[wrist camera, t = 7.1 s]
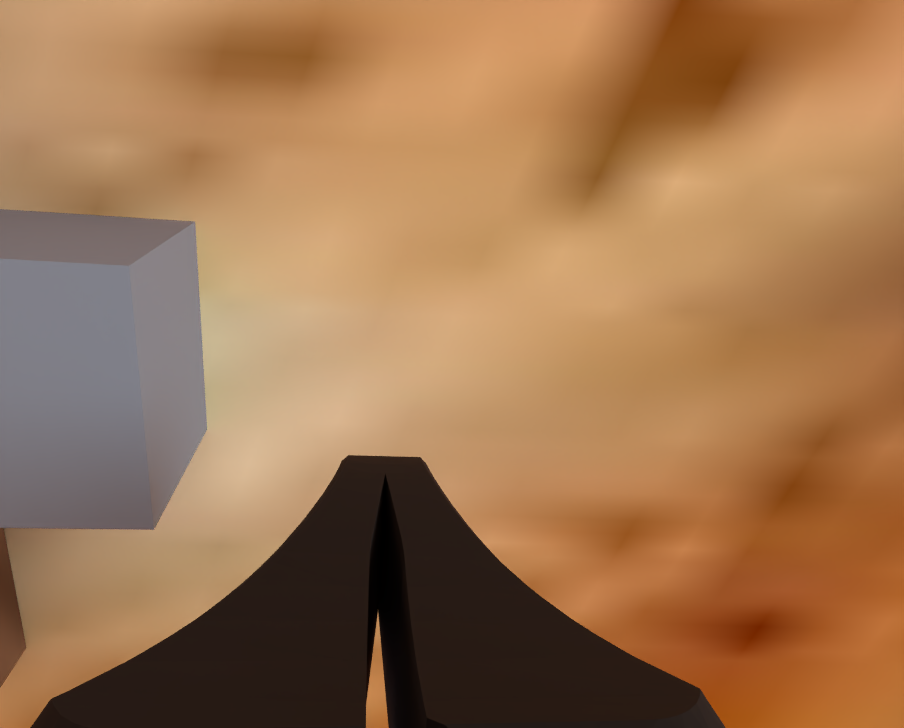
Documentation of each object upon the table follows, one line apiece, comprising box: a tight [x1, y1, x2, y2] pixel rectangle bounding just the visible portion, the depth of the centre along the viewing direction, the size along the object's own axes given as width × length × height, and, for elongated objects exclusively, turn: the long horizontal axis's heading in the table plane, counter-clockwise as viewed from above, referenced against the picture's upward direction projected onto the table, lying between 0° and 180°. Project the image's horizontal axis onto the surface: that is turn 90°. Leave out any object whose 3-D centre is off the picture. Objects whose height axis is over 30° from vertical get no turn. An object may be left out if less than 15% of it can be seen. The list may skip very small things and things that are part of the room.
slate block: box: [0, 209, 207, 530], centre depth 16 cm, size 6×6×5 cm
